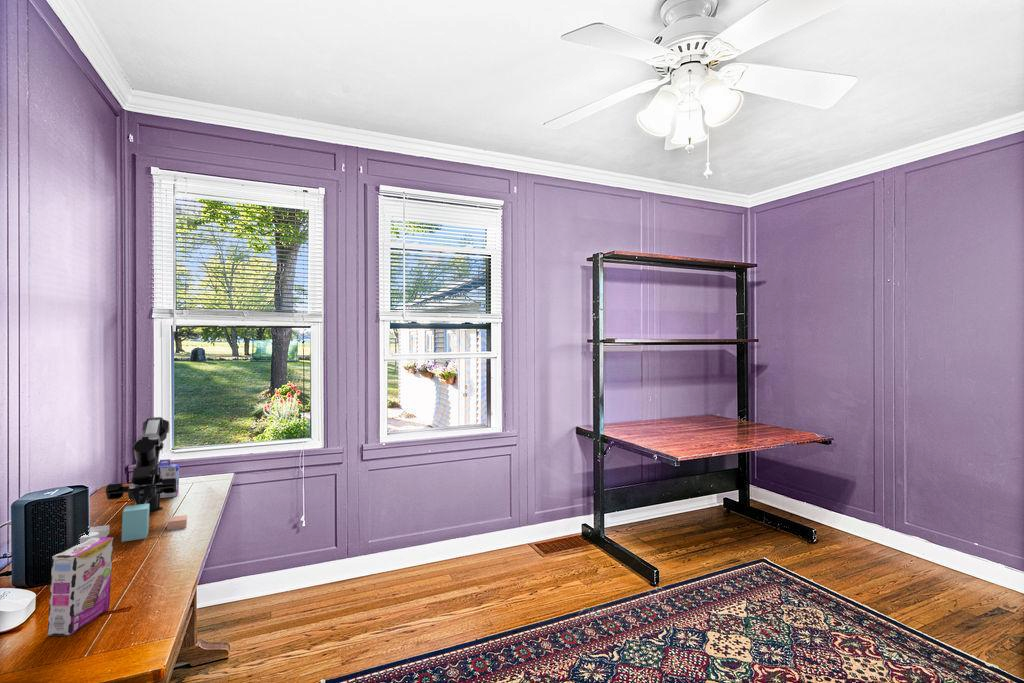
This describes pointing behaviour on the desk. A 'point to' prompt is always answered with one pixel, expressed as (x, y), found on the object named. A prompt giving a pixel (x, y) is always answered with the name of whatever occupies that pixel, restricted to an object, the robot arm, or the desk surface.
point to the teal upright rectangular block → (135, 522)
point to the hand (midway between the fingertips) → (139, 511)
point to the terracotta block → (177, 522)
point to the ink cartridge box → (169, 475)
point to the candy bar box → (79, 585)
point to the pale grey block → (101, 530)
